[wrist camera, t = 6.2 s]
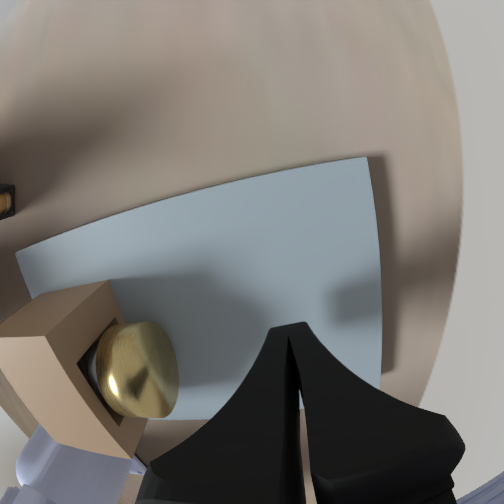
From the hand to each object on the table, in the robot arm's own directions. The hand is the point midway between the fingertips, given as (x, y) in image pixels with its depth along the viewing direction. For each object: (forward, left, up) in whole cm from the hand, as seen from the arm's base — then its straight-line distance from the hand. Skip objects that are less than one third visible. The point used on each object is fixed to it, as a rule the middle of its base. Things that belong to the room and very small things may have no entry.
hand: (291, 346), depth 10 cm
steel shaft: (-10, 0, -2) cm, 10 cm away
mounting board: (-5, 0, -3) cm, 6 cm away
